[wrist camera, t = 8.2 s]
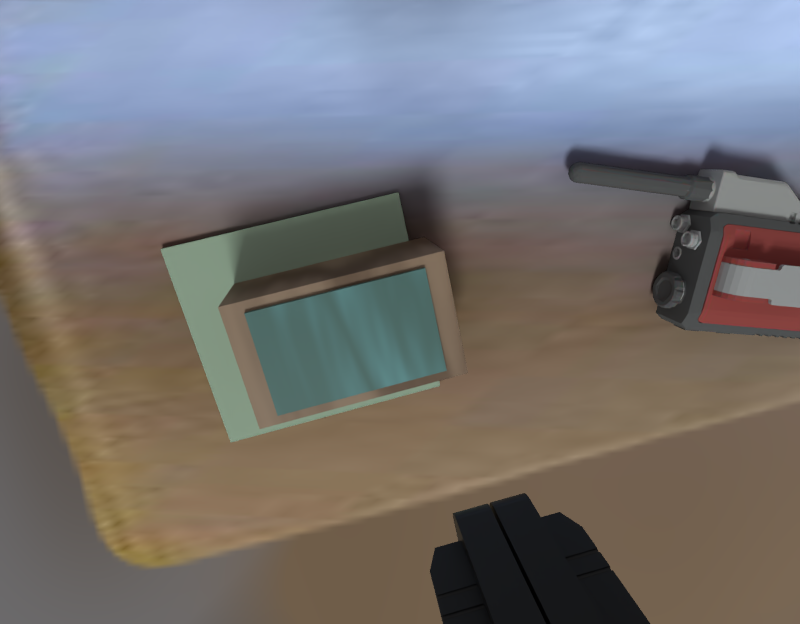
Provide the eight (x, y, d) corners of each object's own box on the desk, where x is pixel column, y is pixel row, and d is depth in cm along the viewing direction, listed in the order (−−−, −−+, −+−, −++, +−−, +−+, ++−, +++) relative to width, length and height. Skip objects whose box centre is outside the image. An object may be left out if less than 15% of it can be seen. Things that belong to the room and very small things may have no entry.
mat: (397, 192, 27) (398, 192, 26) (439, 383, 30) (440, 385, 30) (162, 248, 26) (160, 249, 26) (231, 439, 29) (230, 442, 29)
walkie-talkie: (871, 194, 31) (562, 149, 28) (957, 199, 27) (605, 147, 24) (823, 333, 34) (531, 308, 30) (895, 358, 29) (566, 332, 26)
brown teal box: (445, 251, 23) (217, 308, 22) (469, 374, 25) (259, 431, 24) (424, 236, 27) (234, 283, 26) (445, 341, 29) (268, 388, 28)
